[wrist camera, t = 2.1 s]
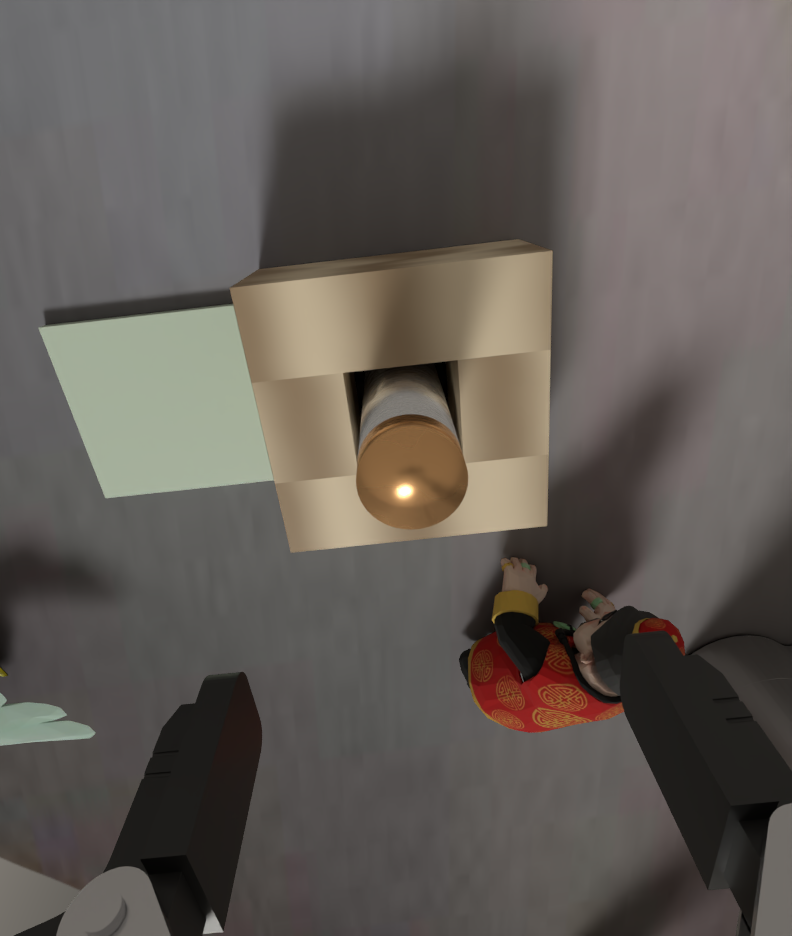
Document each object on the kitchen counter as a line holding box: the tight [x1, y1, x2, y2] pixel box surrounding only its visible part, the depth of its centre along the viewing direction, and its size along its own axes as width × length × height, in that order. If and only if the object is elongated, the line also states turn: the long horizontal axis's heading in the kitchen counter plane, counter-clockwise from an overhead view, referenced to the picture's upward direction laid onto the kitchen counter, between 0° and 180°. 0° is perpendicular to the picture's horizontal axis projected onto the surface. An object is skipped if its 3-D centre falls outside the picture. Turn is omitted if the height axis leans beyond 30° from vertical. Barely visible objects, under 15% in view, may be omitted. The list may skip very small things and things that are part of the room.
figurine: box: [459, 557, 685, 732], centre depth 34 cm, size 10×10×15 cm
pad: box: [39, 304, 274, 498], centre depth 30 cm, size 10×10×1 cm
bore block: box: [230, 239, 553, 553], centre depth 28 cm, size 13×13×6 cm
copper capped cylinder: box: [356, 363, 468, 530], centre depth 25 cm, size 4×4×12 cm
